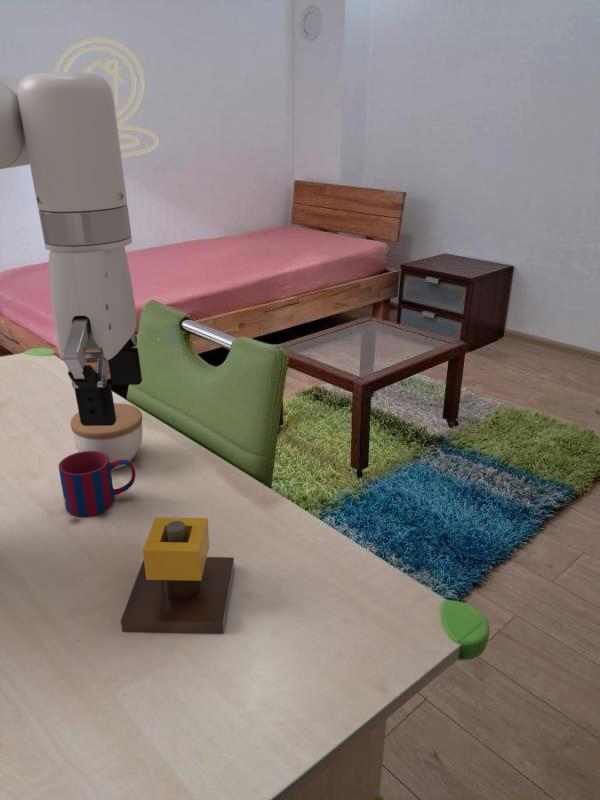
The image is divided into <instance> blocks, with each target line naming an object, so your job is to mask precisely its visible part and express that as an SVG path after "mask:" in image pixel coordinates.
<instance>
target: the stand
mask: <svg viewBox="0 0 600 800" xmlns="http://www.w3.org/2000/svg"><path fill="white" fill-rule="evenodd" d="M167 538H168V542H185V543H186V531H185V524H184V523H183V522H181V521H173V522H170V523H169V524H168V525H167ZM234 571H235V557H232V556H230V557H229V556H207V558H206V562H205V566H204V571H203V575H202V579H201V581H189V580H147V579H146V572H145V564H144V559H143V560H142V562H141V565H140V568H139V571H138V573H137V575H136V579H135V582H134V584H133V586H132V589H131V591H130V595H129V597H128V600H127V603H126V605H125V608H124V610H123V614H122V616H121V619H120V628H121V632H125V633H126V632H129V633H131V632H132V633H175V634H178V633H182V634H224V630H225V627H226V619H227V613H228V607H229V601H230V596H231V589H232V584H233V583H232V582H233V578H234Z"/></svg>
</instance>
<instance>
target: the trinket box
mask: <svg viewBox="0 0 600 800" xmlns="http://www.w3.org/2000/svg"><path fill="white" fill-rule="evenodd" d="M114 407H115V414H116V422H115V424H114V425H112V426H84V425H82V424H81V421H80V416H79V411H78V412H76V413H75V414H74V415H73V416H72V417H71V420H70V429H71V431H72V436H73V440H74V445H75V447H76V449H77V452H83V451H98V452H102V453H104V454H106V455H107V456H108V457H109V462H110V463H111V462H114V461H117V460H121V459H125V460H129V461H130V462H132V459H134V457H135V456H136V455H137V454H138V453H139V450H140V448H141V446H142V441H143V413H142V411H141V410H140V409H139V408H138V407H136V406H134V405H131V404H126V403H119V402H118V403H116V402H114ZM126 466H127V465H126V464H120V465H117V466H116V467H114V468H113V469H112V470H111V471H113V470H119V469H121V468H124V467H126Z"/></svg>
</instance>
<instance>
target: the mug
mask: <svg viewBox="0 0 600 800" xmlns="http://www.w3.org/2000/svg"><path fill="white" fill-rule="evenodd" d="M120 464H126V466H128V467H129V469H130V470H131V479H130V480H129V482H127V483H126V484H125V485H123V486H121V487H118V488H114V484H113V477H112V471H113V470H112V469H113V468H114V467H116V466H117V465H120ZM58 473H59V477H60V484H61V489H62V495H63V501H64V502H63V503H64V505H65V506H64V507H65V510H66V512H67V513H68V514H69V515H71V516H74V517H81V518H86V517H93V516H98V515H101V514H102V513H104V512H106V511H108V510H109V509H110V508H111V507H112V506H113V505H114V503H115V496H118V495H120V494H122V493H124V492H126V491H128V490H129V489H130V488H131V487H132V486H133V485H134V483H135V481H136V475H137V474H136V468H135V466H134V464H133V462H132V461H129V460H125V459H121V460H117V461H114V462H111V463H110V462H109V457H108V456H107V455H106V454H104V453H102V452H98V451H83V452H79V451H77V452H75V453H72V454H69V455H67V456H66V457H64V458H63V459H62V460H61V461H60V462H59V463H58Z"/></svg>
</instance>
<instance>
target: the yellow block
mask: <svg viewBox="0 0 600 800" xmlns="http://www.w3.org/2000/svg"><path fill="white" fill-rule="evenodd" d="M173 521H181V522H183V523H184V524H185V531H186V543H185V542H168V538H167V525H168V524H169V523H170V522H173ZM209 536H210V535H209V520H208V518H207V517H165V516H164V517H161V516H159V517H157V516H156V517H155V518H154V520H153V522H152V524H151V528H150V531H149V533H148V536H147V538H146V541H145V544H144V547H143V549H142V554H143V560H144V564H145V572H146V579H147V580H189V581H201V579H202V575H203V571H204V566H205V562H206V558H207V557H208V553H209V549H210V537H209Z"/></svg>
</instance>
